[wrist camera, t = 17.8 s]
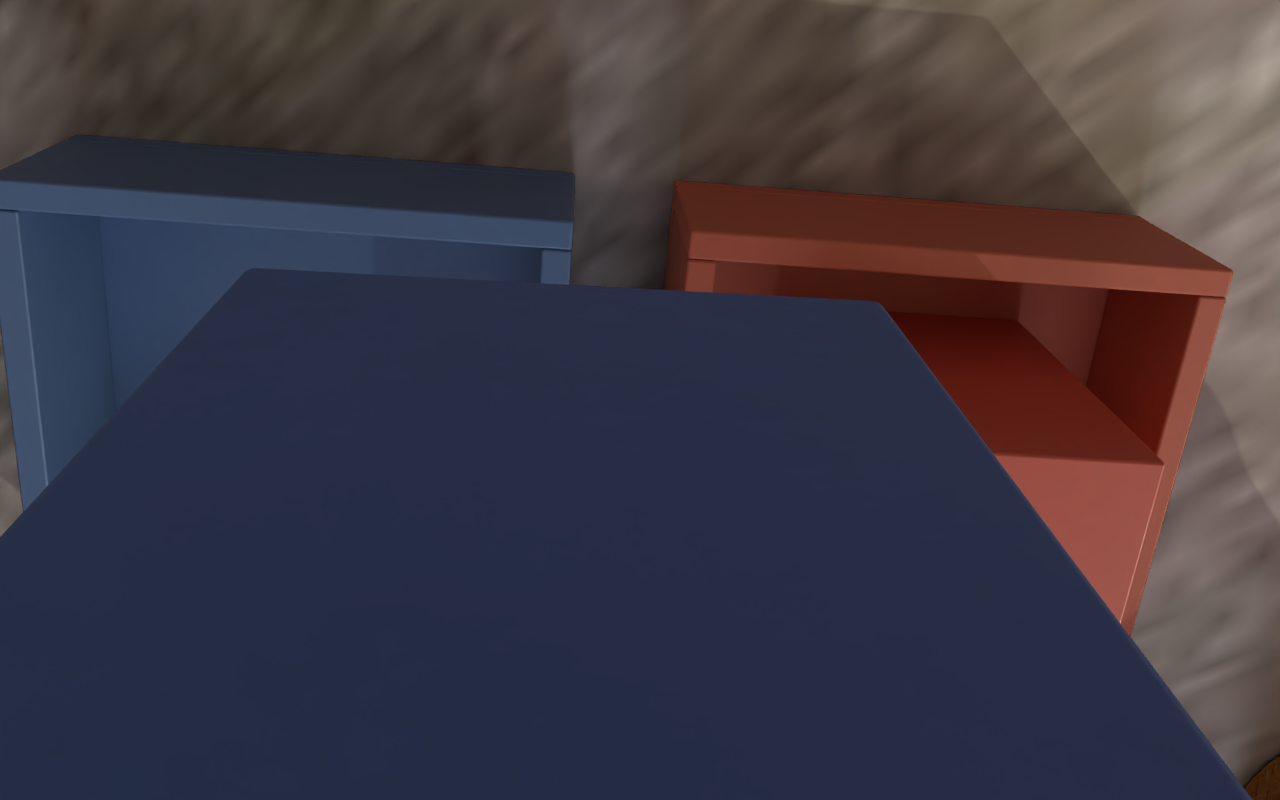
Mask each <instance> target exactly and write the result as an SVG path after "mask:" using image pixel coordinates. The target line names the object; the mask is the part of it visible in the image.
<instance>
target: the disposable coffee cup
mask: <svg viewBox="0 0 1280 800" xmlns="http://www.w3.org/2000/svg"><path fill="white" fill-rule="evenodd" d="M1245 791H1246V792H1247V793H1248V795H1249V796H1250V797H1251V799H1252V800H1280V756H1279V757H1277V758H1276V759H1274V760H1273V761H1271V762H1270V763H1269V764H1268V765H1266V766H1265V767H1264V768H1263V769H1262V770H1261V771H1260V772H1259V773H1258V774H1257V775H1256V776H1255V777H1254V778H1253V779H1252V780H1251V781H1250V783H1249V784H1248V785H1247V787H1246V788H1245Z"/></svg>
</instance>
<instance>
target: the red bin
mask: <svg viewBox="0 0 1280 800" xmlns="http://www.w3.org/2000/svg"><path fill="white" fill-rule="evenodd" d="M1232 276H1233V270H1231V269H1230V268H1228V267H1226V266H1224V265H1223V264H1221V263H1219V262H1217V261H1216V260H1214V259H1212V258H1210V257H1209V256H1207V255H1205V254H1203V253H1202V252H1200V251H1198V250H1196V249H1195V248H1193V247H1191V246H1189V245H1188V244H1186V243H1184V242H1182V241H1181V240H1179V239H1177V238H1175V237H1174V236H1172V235H1170V234H1168V233H1167V232H1165V231H1163V230H1161V229H1160V228H1158V227H1156V226H1154V225H1153V224H1151V223H1149V222H1148V221H1146V220H1145V219H1143V218H1141V217H1139V216H1133V215H1120V214H1107V213H1094V212H1081V211H1068V210H1055V209H1042V208H1029V207H1016V206H1003V205H990V204H977V203H964V202H950V201H937V200H924V199H911V198H898V197H885V196H872V195H859V194H846V193H833V192H820V191H807V190H794V189H781V188H768V187H755V186H742V185H729V184H716V183H703V182H690V181H675V182H674V189H673V199H672V209H671V220H670V230H669V240H668V250H667V261H666V271H665V281H664V290H675V291H694V292H712V293H731V294H750V295H768V296H787V297H806V298H825V299H843V300H862V301H875V302H877V303H880V304H882V306H883V307H884V308H885V310H886V311H887V312H901V313H915V314H930V315H944V316H958V317H973V318H987V319H1001V320H1016V321H1019V322H1020V323H1021V324H1022V325H1023V326H1024V327H1025V328H1026V329H1027V330H1028V331H1029V332H1030V333H1031V334H1032V335H1033V336H1034V337H1035V338H1036V339H1037V340H1038V341H1039V342H1040V343H1041V344H1043V345H1044V346H1045V347H1046V348H1047V349H1048V350H1049V351H1050V352H1051V353H1052V354H1053V355H1054V356H1055V357H1056V358H1057V359H1058V360H1059V361H1060V362H1061V363H1062V364H1063V365H1064V366H1065V367H1066V368H1067V369H1068V370H1069V371H1070V372H1071V373H1072V374H1073V375H1074V376H1075V377H1077V378H1078V379H1079V380H1080V381H1081V382H1082V383H1083V384H1084V385H1085V386H1086V387H1087V388H1088V389H1089V390H1090V391H1091V392H1092V393H1093V394H1094V395H1095V396H1096V397H1097V398H1098V399H1099V400H1100V401H1101V402H1102V403H1103V404H1104V405H1105V406H1106V407H1107V408H1108V409H1109V410H1111V411H1112V412H1113V413H1114V414H1115V415H1116V416H1117V417H1118V418H1119V419H1120V420H1121V421H1122V422H1123V423H1124V424H1125V425H1126V426H1127V427H1128V428H1129V429H1130V430H1131V431H1132V432H1133V433H1134V434H1135V435H1136V436H1137V437H1138V438H1139V439H1140V440H1141V441H1142V442H1143V443H1145V444H1146V445H1147V446H1148V447H1149V448H1150V449H1151V450H1152V451H1153V452H1154V453H1155V454H1156V455H1157V456H1158V457H1159V458H1160V459H1161V460H1162V461H1163V462H1164V463H1165V467H1164V471H1163V475H1162V478H1161V482H1160V485H1159V489H1158V493H1157V496H1156V500H1155V503H1154V507H1153V510H1152V514H1151V518H1150V521H1149V525H1148V528H1147V532H1146V535H1145V539H1144V543H1143V546H1142V550H1141V553H1140V557H1139V561H1138V564H1137V568H1136V571H1135V575H1134V578H1133V582H1132V586H1131V589H1130V593H1129V596H1128V600H1127V603H1126V607H1125V611H1124V614H1123V618H1122V621H1121V625H1122V626H1123V628H1124V629H1125V630H1126V632H1127V633H1128V634H1129V636H1131V633H1132V629H1133V626H1134V622H1135V619H1136V615H1137V612H1138V608H1139V604H1140V601H1141V597H1142V594H1143V590H1144V587H1145V583H1146V580H1147V576H1148V573H1149V569H1150V566H1151V562H1152V559H1153V555H1154V552H1155V548H1156V545H1157V541H1158V538H1159V534H1160V531H1161V527H1162V524H1163V520H1164V516H1165V513H1166V509H1167V506H1168V502H1169V499H1170V495H1171V492H1172V488H1173V485H1174V481H1175V478H1176V474H1177V471H1178V467H1179V464H1180V460H1181V457H1182V453H1183V450H1184V446H1185V443H1186V439H1187V436H1188V432H1189V429H1190V425H1191V421H1192V418H1193V414H1194V411H1195V407H1196V404H1197V400H1198V397H1199V393H1200V390H1201V386H1202V383H1203V379H1204V376H1205V372H1206V369H1207V365H1208V362H1209V358H1210V355H1211V351H1212V348H1213V344H1214V341H1215V337H1216V333H1217V330H1218V326H1219V323H1220V319H1221V316H1222V312H1223V309H1224V305H1225V302H1226V299H1225V298H1224V297H1225V296H1227V294H1228V290H1229V286H1230V283H1231V279H1232Z"/></svg>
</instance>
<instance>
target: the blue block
mask: <svg viewBox="0 0 1280 800" xmlns="http://www.w3.org/2000/svg"><path fill="white" fill-rule="evenodd" d="M0 800H1252V799H1251V797H1250V796H1249V795H1248V793H1247V792H1246V791H1245V789H1244V788H1243V787H1242V785H1241V784H1240V783H1239V781H1238V780H1237V779H1236V777H1235V776H1234V775H1233V773H1232V772H1231V771H1230V769H1229V768H1228V767H1227V765H1226V764H1225V763H1224V761H1223V760H1222V759H1221V757H1220V756H1219V755H1218V753H1217V752H1216V751H1215V749H1214V748H1213V747H1212V745H1211V744H1210V743H1209V741H1208V740H1207V739H1206V737H1205V736H1204V735H1203V733H1202V732H1201V731H1200V729H1199V728H1198V727H1197V725H1196V724H1195V723H1194V721H1193V720H1192V719H1191V717H1190V716H1189V715H1188V713H1187V712H1186V711H1185V709H1184V708H1183V706H1182V705H1181V704H1180V702H1179V701H1178V700H1177V698H1176V697H1175V696H1174V694H1173V693H1172V692H1171V690H1170V689H1169V688H1168V686H1167V685H1166V684H1165V682H1164V681H1163V680H1162V678H1161V677H1160V676H1159V674H1158V673H1157V672H1156V670H1155V669H1154V668H1153V666H1152V665H1151V664H1150V662H1149V661H1148V660H1147V658H1146V657H1145V656H1144V654H1143V653H1142V652H1141V650H1140V649H1139V648H1138V646H1137V645H1136V644H1135V642H1134V641H1133V640H1132V638H1131V637H1130V636H1129V634H1128V633H1127V632H1126V630H1125V629H1124V628H1123V626H1122V625H1121V624H1120V622H1119V621H1118V620H1117V618H1116V617H1115V616H1114V614H1113V613H1112V612H1111V610H1110V609H1109V608H1108V606H1107V605H1106V604H1105V602H1104V601H1103V600H1102V598H1101V597H1100V596H1099V594H1098V593H1097V592H1096V590H1095V589H1094V588H1093V586H1092V585H1091V584H1090V582H1089V581H1088V580H1087V578H1086V577H1085V576H1084V574H1083V573H1082V572H1081V570H1080V569H1079V568H1078V566H1077V565H1076V564H1075V562H1074V561H1073V560H1072V558H1071V557H1070V556H1069V554H1068V553H1067V552H1066V550H1065V549H1064V548H1063V546H1062V545H1061V544H1060V542H1059V541H1058V540H1057V538H1056V537H1055V536H1054V534H1053V533H1052V532H1051V530H1050V529H1049V528H1048V526H1047V525H1046V524H1045V522H1044V521H1043V520H1042V518H1041V517H1040V516H1039V514H1038V513H1037V512H1036V510H1035V509H1034V507H1033V506H1032V505H1031V503H1030V502H1029V501H1028V499H1027V498H1026V497H1025V495H1024V494H1023V493H1022V491H1021V490H1020V489H1019V487H1018V486H1017V485H1016V483H1015V482H1014V481H1013V479H1012V478H1011V477H1010V475H1009V474H1008V473H1007V471H1006V470H1005V469H1004V467H1003V466H1002V465H1001V463H1000V462H999V461H998V459H997V458H996V457H995V455H994V454H993V453H992V451H991V450H990V449H989V447H988V446H987V445H986V443H985V442H984V441H983V439H982V438H981V437H980V435H979V434H978V433H977V431H976V430H975V429H974V427H973V426H972V425H971V423H970V422H969V421H968V419H967V418H966V417H965V415H964V414H963V413H962V411H961V410H960V409H959V407H958V406H957V405H956V403H955V402H954V401H953V399H952V398H951V397H950V395H949V394H948V393H947V391H946V390H945V389H944V387H943V386H942V385H941V383H940V382H939V381H938V379H937V378H936V377H935V375H934V374H933V373H932V371H931V370H930V369H929V367H928V366H927V365H926V363H925V362H924V361H923V359H922V358H921V357H920V355H919V354H918V353H917V351H916V350H915V349H914V347H913V346H912V345H911V343H910V342H909V341H908V339H907V338H906V337H905V335H904V334H903V333H902V331H901V330H900V329H899V327H898V326H897V325H896V323H895V322H894V321H893V319H892V318H891V317H890V315H889V314H888V312H887V311H886V310H885V308H884V307H883V306H882V304H880V303H877V302H875V301H862V300H843V299H825V298H806V297H787V296H768V295H750V294H731V293H712V292H694V291H675V290H656V289H637V288H619V287H600V286H581V285H563V284H544V283H525V282H506V281H488V280H469V279H450V278H432V277H413V276H394V275H376V274H357V273H338V272H319V271H301V270H282V269H263V268H252V269H249V270H246V271H245V272H244V273H243V274H242V275H241V276H240V278H239V279H238V280H237V281H236V282H235V283H234V284H233V285H232V286H231V287H230V288H229V289H228V291H227V292H226V293H225V294H224V295H223V296H222V297H221V298H220V299H219V300H218V301H217V302H216V304H215V305H214V306H213V307H212V308H211V309H210V310H209V311H208V312H207V313H206V314H205V315H204V317H203V318H202V319H201V320H200V321H199V322H198V323H197V324H196V325H195V326H194V327H193V329H192V330H191V331H190V332H189V333H188V334H187V335H186V336H185V337H184V338H183V339H182V340H181V342H180V343H179V344H178V345H177V346H176V347H175V348H174V349H173V350H172V351H171V352H170V353H169V355H168V356H167V357H166V358H165V359H164V360H163V361H162V362H161V363H160V364H159V365H158V366H157V368H156V369H155V370H154V371H153V372H152V373H151V374H150V375H149V376H148V377H147V378H146V380H145V381H144V382H143V383H142V384H141V385H140V386H139V387H138V388H137V389H136V390H135V391H134V393H133V394H132V395H131V396H130V397H129V398H128V399H127V400H126V401H125V402H124V403H123V404H122V406H121V407H120V408H119V409H118V410H117V411H116V412H115V413H114V414H113V415H112V416H111V418H110V419H109V420H108V421H107V422H106V423H105V424H104V425H103V426H102V427H101V428H100V429H99V431H98V432H97V433H96V434H95V435H94V436H93V437H92V438H91V439H90V440H89V441H88V442H87V444H86V445H85V446H84V447H83V448H82V449H81V450H80V451H79V452H78V453H77V454H76V455H75V457H74V458H73V459H72V460H71V461H70V462H69V463H68V464H67V465H66V466H65V467H64V469H63V470H62V471H61V472H60V473H59V474H58V475H57V476H56V477H55V478H54V479H53V480H52V482H51V483H50V484H49V485H48V486H47V487H46V488H45V489H44V490H43V491H42V492H41V493H40V495H39V496H38V497H37V498H36V499H35V500H34V501H33V502H32V503H31V504H30V505H29V507H28V508H27V509H26V510H25V511H24V512H23V513H22V514H21V515H20V516H19V517H18V518H17V520H16V521H15V522H14V523H13V524H12V525H11V526H10V527H9V528H8V529H7V530H6V531H5V533H4V534H3V535H2V536H1V537H0Z"/></svg>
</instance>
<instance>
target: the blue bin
mask: <svg viewBox="0 0 1280 800" xmlns="http://www.w3.org/2000/svg"><path fill="white" fill-rule="evenodd" d="M574 195H575V175H574V173H570V172H557V171H544V170H531V169H518V168H505V167H492V166H479V165H466V164H453V163H440V162H427V161H414V160H401V159H388V158H375V157H362V156H349V155H336V154H323V153H310V152H297V151H284V150H271V149H258V148H245V147H232V146H219V145H206V144H193V143H179V142H166V141H153V140H140V139H127V138H114V137H101V136H88V135H75V136H73V137H71V138H69V139H67V140H64V141H62V142H60V143H58V144H56V145H53V146H51V147H49V148H47V149H45V150H43V151H41V152H38V153H36V154H34V155H32V156H30V157H28V158H26V159H23V160H21V161H19V162H17V163H15V164H13V165H11V166H8V167H6V168H4V169H2V170H0V327H1V335H2V344H3V352H4V360H5V368H6V376H7V385H8V393H9V401H10V409H11V417H12V426H13V434H14V442H15V450H16V459H17V467H18V475H19V483H20V491H21V500H22V508H23V512H24V511H25V510H26V509H27V508H28V507H29V505H30V504H31V503H32V502H33V501H34V500H35V499H36V498H37V497H38V496H39V495H40V493H41V492H42V491H43V490H44V489H45V488H46V487H47V486H48V485H49V484H50V483H51V482H52V480H53V479H54V478H55V477H56V476H57V475H58V474H59V473H60V472H61V471H62V470H63V469H64V467H65V466H66V465H67V464H68V463H69V462H70V461H71V460H72V459H73V458H74V457H75V455H76V454H77V453H78V452H79V451H80V450H81V449H82V448H83V447H84V446H85V445H86V444H87V442H88V441H89V440H90V439H91V438H92V437H93V436H94V435H95V434H96V433H97V432H98V431H99V429H100V428H101V427H102V426H103V425H104V424H105V423H106V422H107V421H108V420H109V419H110V418H111V416H112V415H113V414H114V413H115V412H116V411H117V410H118V409H119V408H120V407H121V406H122V404H123V403H124V402H125V401H126V400H127V399H128V398H129V397H130V396H131V395H132V394H133V393H134V391H135V390H136V389H137V388H138V387H139V386H140V385H141V384H142V383H143V382H144V381H145V380H146V378H147V377H148V376H149V375H150V374H151V373H152V372H153V371H154V370H155V369H156V368H157V366H158V365H159V364H160V363H161V362H162V361H163V360H164V359H165V358H166V357H167V356H168V355H169V353H170V352H171V351H172V350H173V349H174V348H175V347H176V346H177V345H178V344H179V343H180V342H181V340H182V339H183V338H184V337H185V336H186V335H187V334H188V333H189V332H190V331H191V330H192V329H193V327H194V326H195V325H196V324H197V323H198V322H199V321H200V320H201V319H202V318H203V317H204V315H205V314H206V313H207V312H208V311H209V310H210V309H211V308H212V307H213V306H214V305H215V304H216V302H217V301H218V300H219V299H220V298H221V297H222V296H223V295H224V294H225V293H226V292H227V291H228V289H229V288H230V287H231V286H232V285H233V284H234V283H235V282H236V281H237V280H238V279H239V278H240V276H241V275H242V274H243V273H244V272H245V271H246V270H249V269H252V268H263V269H282V270H301V271H319V272H338V273H357V274H376V275H394V276H413V277H432V278H450V279H469V280H488V281H506V282H525V283H544V284H563V285H570V272H571V257H572V242H573V227H574Z"/></svg>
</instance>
